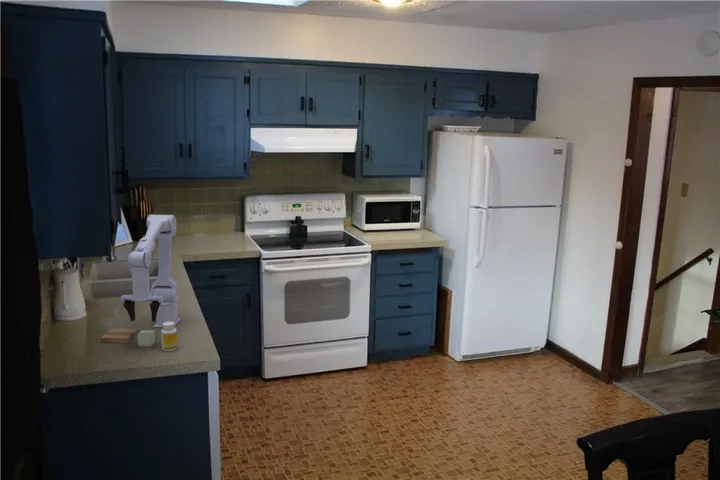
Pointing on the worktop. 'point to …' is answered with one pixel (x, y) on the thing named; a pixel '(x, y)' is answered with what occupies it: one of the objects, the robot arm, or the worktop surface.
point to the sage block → (146, 338)
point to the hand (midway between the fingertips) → (143, 320)
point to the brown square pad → (119, 335)
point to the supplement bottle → (169, 336)
